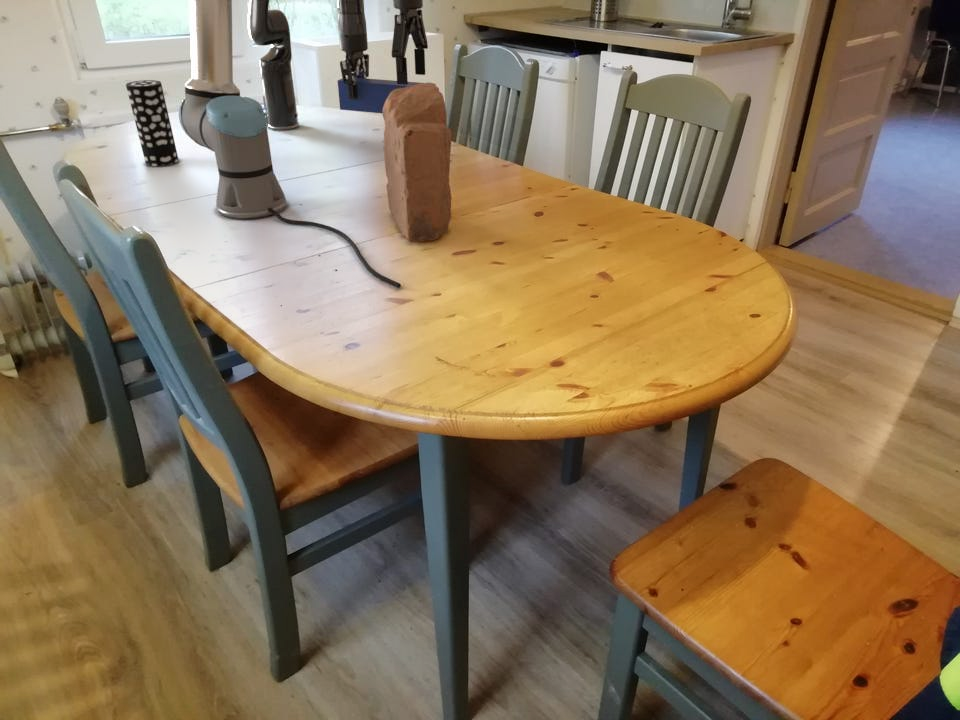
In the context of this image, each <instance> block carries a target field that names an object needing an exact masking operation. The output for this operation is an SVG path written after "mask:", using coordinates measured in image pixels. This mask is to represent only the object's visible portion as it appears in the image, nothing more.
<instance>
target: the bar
mask: <svg viewBox="0 0 960 720" xmlns="http://www.w3.org/2000/svg"><path fill="white" fill-rule="evenodd" d="M346 78H347V76H346ZM352 78H353V76H352ZM418 83H419V82H416V81H408V84H407V85H403V84H397V80H393V79H391V80H390V79H378V78H368V77H366V78H356V89H357V99H356V100H352V99H349V92H348V85H347V84H344V83H343V78H340V79H338V80H337V89H338V90H337V91H338V101H339V110H341V111H352V112H360V113H361V112H363V113H372V114H373V113H374V114H383V112H382V110H383V106H384V103H385V101H386V99H387V98H388V96H389V94H390V93H391V92H392V91H393V90H395V89H400V88H405V87H407V86H410V85H415V84H418Z"/></svg>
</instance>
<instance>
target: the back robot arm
mask: <svg viewBox="0 0 960 720" xmlns="http://www.w3.org/2000/svg"><path fill="white" fill-rule="evenodd" d="M269 4H270V0H248V9H247V10H248V11H247V30H248V36H249V38H250V40H251V42H252V43H253V44H254V45H256V46H258V47H266V46H270V49H269V51H268V52H267V53H265V55H263V56H262V57H261V58H260V59H259V61H258V64H259V71H260V77H261V83H262V90H263V94H262V101H263V102H262V103H263V107H262V108H263V110H264V115H265V117H266V121H267V127H268V128H269V129H271V130H276V131H277V130H278V131H283V130H284V131H286V130H293V129H296V128H298V127H300V123H299V118H298V117H299V112H298V110H297V102H296V95H295V86H294V78H293V72H292V71H293V69H292V60H293V59H292V57H293V55H292V42H291V41H292V40H291V31H290V30H291V29H290V24H289V20H288V18H287V16H286V14H285V13H284V12H283V11H282V10H280V9H269V7H270V5H269ZM336 8H337V29H338V30H337V32H338V41H339V42H338V43H339V49H340V50H341V51H342V52H344V53H345V54H344V55H345V56H344V60H341V61H339V67H340V72H341V77H342V78H343V83H344V84H347V85H348V92H349V99H352V100H356V99H357V89H356V78H369V76H370V54H368V53H364V52H366V51H367V50H368V49H369V45H368V31H367V30H368V29H367V28H368V27H367V19H366V13H365V1H364V0H336ZM346 77H347V78H346ZM352 77H353V78H352ZM342 78H341V79H342Z"/></svg>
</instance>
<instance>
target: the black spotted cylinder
mask: <svg viewBox="0 0 960 720" xmlns="http://www.w3.org/2000/svg"><path fill="white" fill-rule="evenodd" d="M125 87H126V91H127V95H128V99H129V103H130V107H131V110H132V115H133V118H134V122H135V123H134V124H135V127H136V130H137V134H138V139H139V143H140V146H141V150H142V155H143V158H144V163H145V164H146V165H147V166H151V167H164V166H170V165H174V164H176V163H178V162H179V155H178V150H177V146H176V142H175V137H174V133H173V128H172V125H171V121H170V116H169V111H168V107H167V103H166V98H165V93H164V89H163V84H162V81H161V80H155V79H154V80H153V79H151V80H150V79H145V80H144V79H141V80H134V81H130V82H129V81H128V82H127V83H126V84H125Z"/></svg>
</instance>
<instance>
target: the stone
mask: <svg viewBox="0 0 960 720" xmlns="http://www.w3.org/2000/svg"><path fill="white" fill-rule="evenodd" d="M382 112H383V113H382V119H383V121H384V131H383V157H384V158H383V159H384V168H385V169H384V170H385V175H386V178H387V183H386V194H387V195H386V196H387V202H388V208H389V211H390V214H391V215H392V218H393V220H394V221H395V223H396V225H397V226H398V229H399V231H400V233H402V235H403V236H404V237H405V239H406V240H407V241H408V242H410V243H421V242H424V241H435V240H436V239H439V238H440V237H441V236H442V235H443V234H445V233H447V232H448V231H449V225H450V222H451V219H452V192H451V185H450V168H451V166H450V164H451V154H452V153H451V152H452V129H451V128H449V125H448V124H447V107H446V102H445V98H444V95H443V93H442V92H441V91H440V87H438V86H437V84H436V83H433V82H418V84H415V85H410V86H407V87H405V88H400V89H395V90H393V91H392V92H391V93H390V94H389V96H388V98H387V99H386V101H385V103H384V106H383V110H382Z"/></svg>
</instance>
